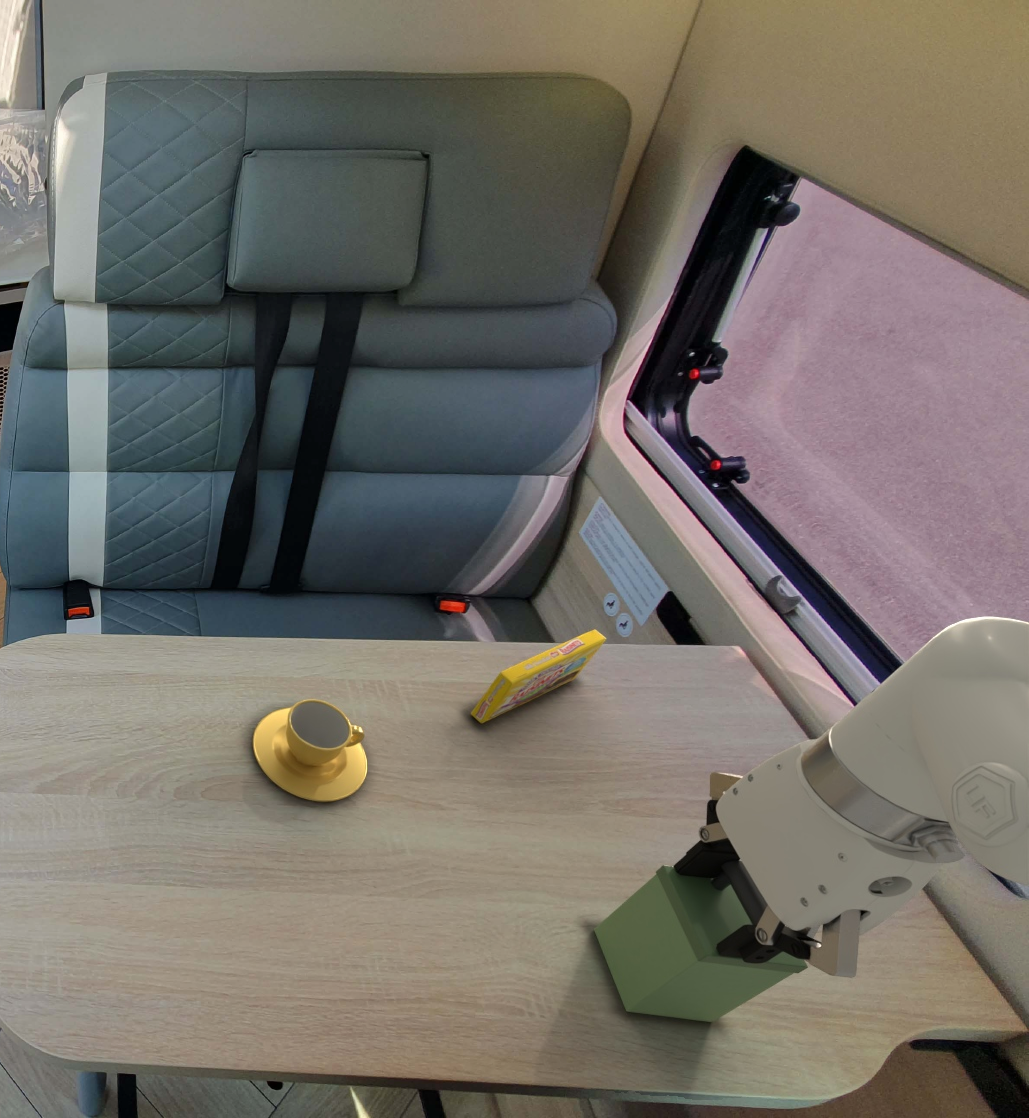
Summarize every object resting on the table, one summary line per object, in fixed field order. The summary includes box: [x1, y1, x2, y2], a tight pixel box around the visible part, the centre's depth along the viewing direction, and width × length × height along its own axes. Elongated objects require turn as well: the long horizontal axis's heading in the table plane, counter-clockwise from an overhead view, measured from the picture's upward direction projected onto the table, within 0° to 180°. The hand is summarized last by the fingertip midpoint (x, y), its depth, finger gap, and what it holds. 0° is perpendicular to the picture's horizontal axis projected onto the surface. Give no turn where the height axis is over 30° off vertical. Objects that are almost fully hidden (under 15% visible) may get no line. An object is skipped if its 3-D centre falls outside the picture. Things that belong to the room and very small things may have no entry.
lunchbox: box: [593, 859, 809, 1023], centre depth 66 cm, size 7×8×15 cm
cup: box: [252, 698, 368, 802], centre depth 85 cm, size 12×12×5 cm
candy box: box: [470, 629, 607, 724], centre depth 91 cm, size 15×2×8 cm, turn 116°
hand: (716, 910), depth 63 cm, fingers open, 5 cm apart
